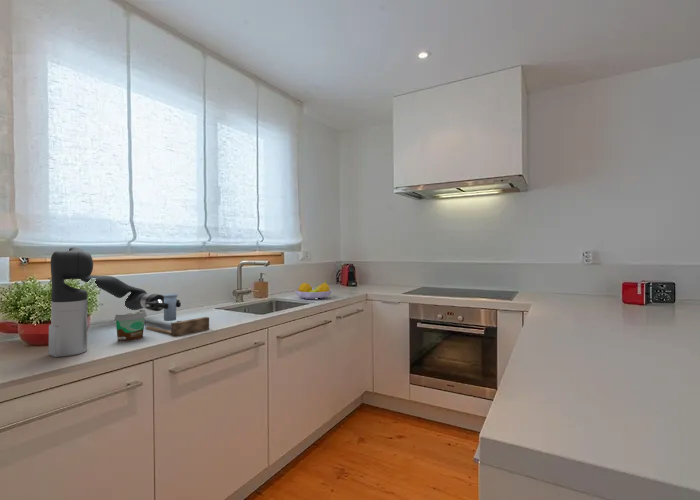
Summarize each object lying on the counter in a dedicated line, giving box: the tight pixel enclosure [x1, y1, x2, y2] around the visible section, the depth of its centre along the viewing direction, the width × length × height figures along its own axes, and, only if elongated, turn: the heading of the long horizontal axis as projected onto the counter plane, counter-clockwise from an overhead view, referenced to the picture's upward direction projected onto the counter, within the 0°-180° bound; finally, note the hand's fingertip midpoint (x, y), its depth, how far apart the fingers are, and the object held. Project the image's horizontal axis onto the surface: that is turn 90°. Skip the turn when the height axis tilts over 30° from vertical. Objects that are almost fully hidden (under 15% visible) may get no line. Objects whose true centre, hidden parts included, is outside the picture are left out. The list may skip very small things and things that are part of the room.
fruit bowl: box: [294, 280, 333, 300], centre depth 247 cm, size 28×27×11 cm
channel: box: [145, 316, 210, 337], centre depth 149 cm, size 15×22×5 cm
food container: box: [114, 309, 148, 342], centre depth 133 cm, size 12×6×10 cm, turn 168°
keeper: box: [162, 293, 178, 322], centre depth 152 cm, size 6×6×11 cm
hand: (173, 305), depth 151 cm, fingers closed on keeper, 4 cm apart
